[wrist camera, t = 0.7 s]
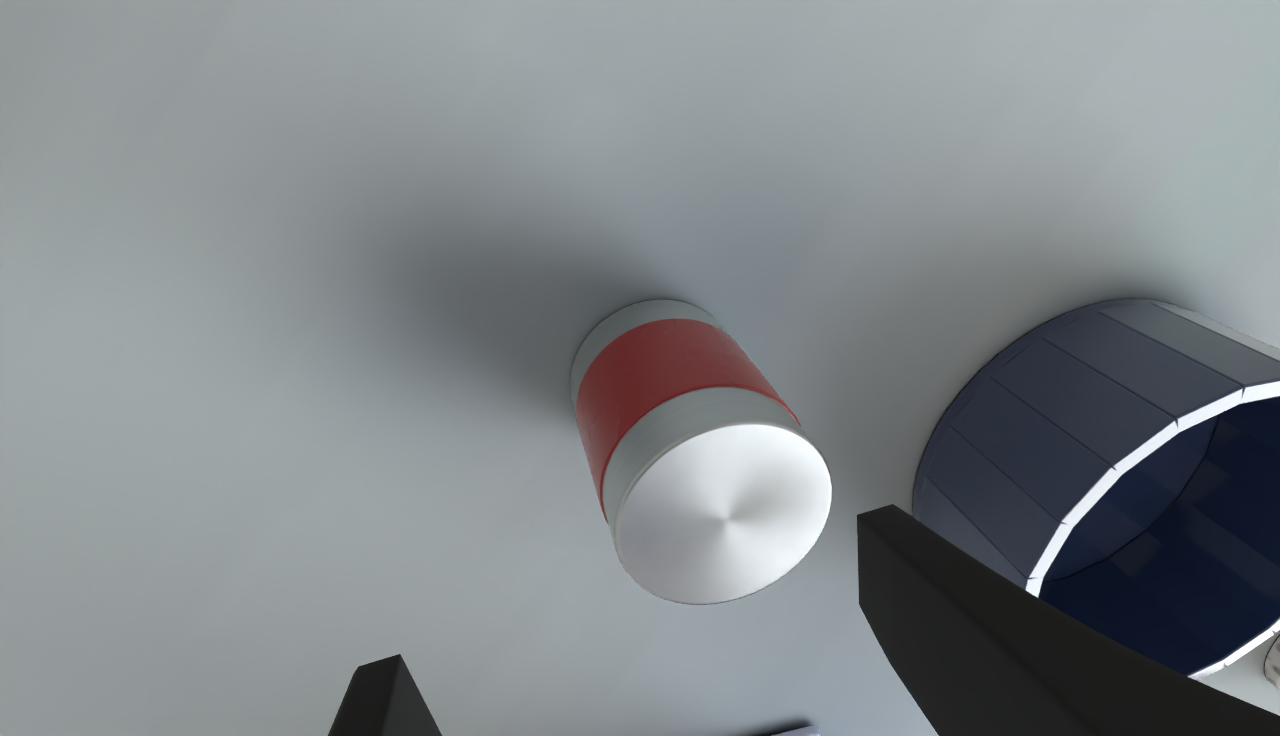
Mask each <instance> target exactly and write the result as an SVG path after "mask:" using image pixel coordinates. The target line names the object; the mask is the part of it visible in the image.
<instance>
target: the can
mask: <svg viewBox="0 0 1280 736" xmlns="http://www.w3.org/2000/svg"><path fill="white" fill-rule="evenodd" d="M570 390H571V397H572V402H573V405H574V409H575V412H576V419H577V424H578V429H579V432H580V436H581V439H582V443H583V446H584V450H585V453H586V457H587V460H588V464H589V467H590V470H591V474H592V477H593V481H594V484H595V488H596V491H597V495H598V498H599V501H600V505H601V508H602V511H603V514H604V517H605V519H606V521H607V523H608V525H609V528H610V531H611V534H612V538H613V541H614V545H615V548H616V551H617V554H618V557H619V559H620V562H621V564H622V565H623V567H624V569H625V570H626V572H627V573H628V574H629V575H630V576H631V578H632V579H633V580H634V581H635V582H636V583H638V584H639V585H640V586H641V587H642V588H644V589H645V590H647V591H648V592H650V593H652V594H653V595H656V596H658V597H660V598H663V599H665V600H669V601H672V602H676V603H682V604H691V605H707V604H717V603H723V602H728V601H732V600H736V599H739V598H742V597H745V596H748V595H750V594H753V593H755V592H757V591H759V590H762V589H764V588H766V587H767V586H769V585H771V584H772V583H774V582H776V581H777V580H779V579H780V578H782V577H783V576H784V575H786V574H787V573H788V572H790V571H791V570H792V569H793V568H794V567H795V566H796V565H797V564H799V562H800V561H801V560H802V559H803V558H804V557H805V556H806V555H807V554H808V553H809V551H810V550H811V549H812V547H813V546H814V545H815V543H816V542H817V540H818V538H819V537H820V535H821V533H822V531H823V529H824V527H825V524H826V522H827V519H828V516H829V513H830V509H831V503H832V481H831V475H830V471H829V468H828V465H827V462H826V460H825V458H824V457H823V455H822V453H821V452H820V450H819V449H818V448H817V447H816V445H815V444H814V443H813V441H812V440H811V439H810V438H809V436H808V435H807V434H806V433H805V431H804V430H803V429H802V427H801V425H800V423H799V422H798V420H797V418H796V416H795V415H794V414H793V413H792V411H791V410H790V409H789V408H788V406H787V405H786V404H785V403H784V401H783V400H782V399H781V398H780V396H779V395H778V394H777V393H776V391H775V390H774V389H773V388H772V386H771V385H770V384H769V383H768V381H767V380H766V379H765V378H764V376H763V375H762V374H761V373H760V371H759V370H758V369H757V368H756V366H755V365H754V364H753V363H752V361H751V360H750V359H749V358H748V356H747V355H746V354H745V352H744V351H743V350H742V349H741V347H740V346H739V345H738V344H737V342H736V341H735V340H733V339H732V338H731V337H730V336H729V335H728V334H727V333H726V332H725V330H724V329H723V328H722V327H721V325H720V324H719V323H718V322H717V321H716V320H715V319H714V318H713V317H712V316H711V315H709V314H708V313H706V312H705V311H703V310H702V309H700V308H698V307H696V306H694V305H691V304H688V303H685V302H680V301H675V300H650V301H645V302H640V303H636V304H633V305H630V306H627V307H625V308H623V309H621V310H619V311H617V312H615V313H614V314H612V315H610V316H609V317H607V318H606V319H605V320H604V321H602V322H601V323H600V324H599V325H598V326H597V327H596V328H595V329H594V330H593V331H592V332H591V333H590V334H589V335H588V337H587V338H586V339H585V341H584V342H583V344H582V345H581V347H580V349H579V351H578V353H577V355H576V358H575V360H574V363H573V367H572V371H571V379H570Z"/></svg>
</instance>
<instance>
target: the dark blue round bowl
mask: <svg viewBox="0 0 1280 736" xmlns="http://www.w3.org/2000/svg"><path fill="white" fill-rule="evenodd" d="M913 514H914V518H915V519H916V520H918V521H919V522H921V523H922V524H924V525H925V526H927V527H928V528H930V529H931V530H933V531H934V532H936V533H937V534H939V535H940V536H942V537H943V538H945V539H946V540H948V541H949V542H951V543H952V544H954V545H955V546H957V547H958V548H960V549H961V550H963V551H964V552H966V553H967V554H969V555H970V556H972V557H973V558H975V559H976V560H978V561H980V562H981V563H983V564H984V565H986V566H987V567H989V568H990V569H992V570H994V571H995V572H997V573H998V574H1000V575H1002V576H1003V577H1005V578H1007V579H1008V580H1010V581H1011V582H1013V583H1015V584H1016V585H1018V586H1019V587H1021V588H1023V589H1024V590H1026V591H1028V592H1029V593H1031V594H1032V595H1034V596H1036V597H1037V598H1039V599H1041V600H1042V601H1044V602H1046V603H1048V604H1049V605H1051V606H1053V607H1054V608H1056V609H1058V610H1059V611H1061V612H1063V613H1065V614H1067V615H1068V616H1070V617H1072V618H1074V619H1075V620H1077V621H1079V622H1081V623H1083V624H1084V625H1086V626H1088V627H1090V628H1091V629H1093V630H1095V631H1097V632H1099V633H1101V634H1103V635H1104V636H1106V637H1108V638H1110V639H1112V640H1114V641H1116V642H1118V643H1119V644H1121V645H1123V646H1125V647H1127V648H1129V649H1131V650H1133V651H1135V652H1137V653H1140V654H1142V655H1144V656H1146V657H1148V658H1150V659H1152V660H1154V661H1156V662H1158V663H1160V664H1162V665H1164V666H1166V667H1168V668H1170V669H1172V670H1175V671H1177V672H1179V673H1181V674H1183V675H1185V676H1187V677H1189V678H1192V679H1194V680H1196V681H1198V680H1200V679H1202V678H1204V677H1206V676H1209V675H1211V674H1213V673H1215V672H1217V671H1219V670H1221V669H1223V668H1224V667H1227V666H1228V665H1230V664H1231V663H1233V662H1234V661H1236V660H1237V659H1239V658H1240V657H1242V656H1243V655H1245V654H1246V653H1248V652H1249V651H1250V650H1252V649H1253V648H1255V647H1256V646H1258V645H1259V644H1261V643H1262V642H1264V641H1265V640H1267V639H1268V638H1270V637H1271V636H1273V635H1274V633H1276V632H1277V631H1278V630H1280V349H1278V348H1276V347H1273V346H1271V345H1269V344H1267V343H1264V342H1262V341H1260V340H1257V339H1255V338H1253V337H1251V336H1248V335H1246V334H1244V333H1242V332H1239V331H1237V330H1235V329H1233V328H1230V327H1228V326H1226V325H1223V324H1221V323H1219V322H1217V321H1214V320H1212V319H1210V318H1208V317H1205V316H1203V315H1201V314H1199V313H1196V312H1194V311H1191V310H1186V309H1181V308H1179V307H1176V306H1174V305H1172V304H1169V303H1165V302H1161V301H1156V300H1150V299H1121V300H1111V301H1106V302H1102V303H1097V304H1093V305H1088V306H1085V307H1083V308H1080V309H1077V310H1074V311H1071V312H1069V313H1066V314H1064V315H1061V316H1059V317H1057V318H1055V319H1053V320H1051V321H1049V322H1047V323H1045V324H1043V325H1041V326H1039V327H1038V328H1036V329H1034V330H1033V331H1031V332H1030V333H1028V334H1026V335H1025V336H1023V337H1021V338H1020V339H1019V340H1017V341H1016V342H1014V343H1013V344H1012V345H1010V346H1009V347H1008V348H1006V349H1005V350H1004V351H1002V352H1001V353H1000V354H999V355H997V356H996V357H995V358H994V359H993V360H992V361H991V362H990V363H989V364H987V365H986V366H985V367H984V368H983V369H982V370H981V371H980V372H979V373H978V374H977V375H976V376H975V377H974V378H973V379H972V380H971V381H970V383H969V384H968V385H967V386H966V387H965V388H964V389H963V390H962V391H961V393H960V394H959V395H958V397H957V398H956V399H955V401H954V402H953V403H952V404H951V406H950V407H949V408H948V410H947V411H946V413H945V415H944V416H943V418H942V419H941V421H940V423H939V424H938V426H937V427H936V429H935V431H934V433H933V435H932V437H931V439H930V441H929V443H928V445H927V447H926V449H925V452H924V455H923V458H922V461H921V463H920V466H919V469H918V473H917V478H916V483H915V487H914V498H913Z"/></svg>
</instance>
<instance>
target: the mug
mask: <svg viewBox="0 0 1280 736" xmlns="http://www.w3.org/2000/svg"><path fill="white" fill-rule="evenodd" d="M1264 671H1265V675H1266V678H1267V679H1268V680H1269V681H1270V682H1271V683H1272V684H1273V685H1274V686H1276V687H1277V688H1278V689H1279V690H1280V637H1279V638H1278V639H1277V640H1276V642H1275V643H1274V645H1273V646H1272V648H1271V650H1270V652H1269V654H1268V656H1267V659H1266V662H1265V668H1264Z"/></svg>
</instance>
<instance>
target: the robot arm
mask: <svg viewBox="0 0 1280 736" xmlns="http://www.w3.org/2000/svg"><path fill="white" fill-rule="evenodd" d="M857 534H858V575H859V605H860V607H861V609H862V611H863V613H864V615H865V617H866V619H867V621H868V623H869V624H870V626H871V628H872V630H873V632H874V634H875V636H876V638H877V640H878V642H879V644H880V646H881V647H882V649H883V651H884V653H885V655H886V657H887V658H888V660H889V662H890V664H891V665H892V667H893V668H894V670H895V672H896V673H897V675H898V676H899V678H900V679H901V681H902V682H903V684H904V685H905V686H906V688H907V689H908V691H909V692H910V694H911V695H912V697H913V698H914V700H915V701H916V703H917V704H918V706H919V707H920V709H921V710H922V712H923V713H924V715H925V716H926V718H927V719H928V720H929V722H930V723H931V725H932V726H933V728H934V729H935V731H936V732H937V734H938V735H939V736H1280V716H1278V715H1276V714H1274V713H1271V712H1269V711H1266V710H1264V709H1262V708H1259V707H1257V706H1254V705H1252V704H1250V703H1247V702H1245V701H1242V700H1240V699H1238V698H1235V697H1233V696H1230V695H1228V694H1226V693H1223V692H1221V691H1218V690H1216V689H1214V688H1212V687H1209V686H1207V685H1205V684H1203V683H1201V682H1198V681H1196V680H1194V679H1192V678H1189V677H1187V676H1185V675H1183V674H1181V673H1179V672H1177V671H1175V670H1172V669H1170V668H1168V667H1166V666H1164V665H1162V664H1160V663H1158V662H1156V661H1154V660H1152V659H1150V658H1148V657H1146V656H1144V655H1142V654H1140V653H1137V652H1135V651H1133V650H1131V649H1129V648H1127V647H1125V646H1123V645H1121V644H1119V643H1118V642H1116V641H1114V640H1112V639H1110V638H1108V637H1106V636H1104V635H1103V634H1101V633H1099V632H1097V631H1095V630H1093V629H1091V628H1090V627H1088V626H1086V625H1084V624H1083V623H1081V622H1079V621H1077V620H1075V619H1074V618H1072V617H1070V616H1068V615H1067V614H1065V613H1063V612H1061V611H1059V610H1058V609H1056V608H1054V607H1053V606H1051V605H1049V604H1048V603H1046V602H1044V601H1042V600H1041V599H1039V598H1037V597H1036V596H1034V595H1032V594H1031V593H1029V592H1028V591H1026V590H1024V589H1023V588H1021V587H1019V586H1018V585H1016V584H1015V583H1013V582H1011V581H1010V580H1008V579H1007V578H1005V577H1003V576H1002V575H1000V574H998V573H997V572H995V571H994V570H992V569H990V568H989V567H987V566H986V565H984V564H983V563H981V562H980V561H978V560H976V559H975V558H973V557H972V556H970V555H969V554H967V553H966V552H964V551H963V550H961V549H960V548H958V547H957V546H955V545H954V544H952V543H951V542H949V541H948V540H946V539H945V538H943V537H942V536H940V535H939V534H937V533H936V532H934V531H933V530H931V529H930V528H928V527H927V526H925V525H924V524H922V523H921V522H919V521H918V520H916V519H915V518H914V517H912V516H911V515H909V514H908V513H906V512H905V511H903V510H901V509H900V508H898V507H897V506H895V505H894V504H891V505H888V506H885V507H882V508H878V509H875V510H872V511H868V512H865V513H862V514H859V515H857ZM328 736H442V735H441V733H440V731H439V729H438V727H437V725H436V723H435V721H434V719H433V717H432V715H431V713H430V711H429V709H428V707H427V705H426V703H425V702H424V700H423V698H422V696H421V694H420V692H419V690H418V688H417V686H416V684H415V682H414V680H413V678H412V676H411V674H410V672H409V670H408V668H407V666H406V664H405V662H404V660H403V659H402V657H401V655H400V654H398V655H395V656H392V657H388V658H385V659H382V660H379V661H375V662H372V663H369V664H365V665H362V666H359V667H358V668H357V670H356V671H355V673H354V674H353V677H352V679H351V681H350V684H349V686H348V689H347V691H346V694H345V696H344V698H343V701H342V703H341V706H340V708H339V710H338V713H337V715H336V718H335V720H334V722H333V725H332V727H331V729H330V732H329V734H328ZM772 736H822V735H821V733H820V731H819V729H818V728H817V727H814V726H808V727H804V728H800V729H796V730H792V731H788V732H784V733H780V734H776V735H772Z"/></svg>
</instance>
